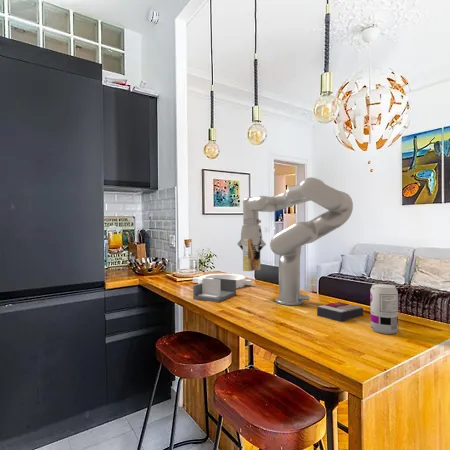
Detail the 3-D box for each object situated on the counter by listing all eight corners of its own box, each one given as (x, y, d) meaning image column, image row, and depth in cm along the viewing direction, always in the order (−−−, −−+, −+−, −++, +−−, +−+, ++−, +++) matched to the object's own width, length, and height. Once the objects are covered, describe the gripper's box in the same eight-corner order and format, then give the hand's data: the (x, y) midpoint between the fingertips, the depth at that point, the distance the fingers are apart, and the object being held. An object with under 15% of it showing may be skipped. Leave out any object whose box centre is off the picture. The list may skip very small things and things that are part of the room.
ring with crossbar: (190, 283, 197) (190, 275, 197) (230, 279, 210) (230, 272, 210) (210, 292, 172) (210, 283, 172) (254, 286, 185) (254, 278, 185)
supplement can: (366, 330, 107) (366, 285, 107) (376, 325, 113) (375, 282, 113) (392, 336, 101) (392, 289, 101) (401, 330, 107) (401, 285, 107)
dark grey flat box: (363, 306, 126) (341, 310, 117) (363, 317, 126) (341, 322, 117) (338, 301, 135) (316, 304, 126) (338, 311, 135) (316, 316, 125)
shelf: (236, 294, 164) (236, 275, 164) (218, 302, 148) (218, 281, 148) (212, 291, 170) (212, 274, 170) (193, 298, 155) (193, 279, 155)
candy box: (254, 269, 163) (254, 238, 163) (261, 269, 160) (260, 238, 160) (242, 270, 157) (242, 239, 157) (249, 271, 154) (248, 239, 154)
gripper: (270, 222, 157) (270, 259, 157) (238, 222, 166) (239, 258, 166) (264, 222, 151) (264, 260, 151) (232, 223, 159) (232, 259, 159)
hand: (251, 259), depth 158 cm, fingers closed on candy box, 5 cm apart
